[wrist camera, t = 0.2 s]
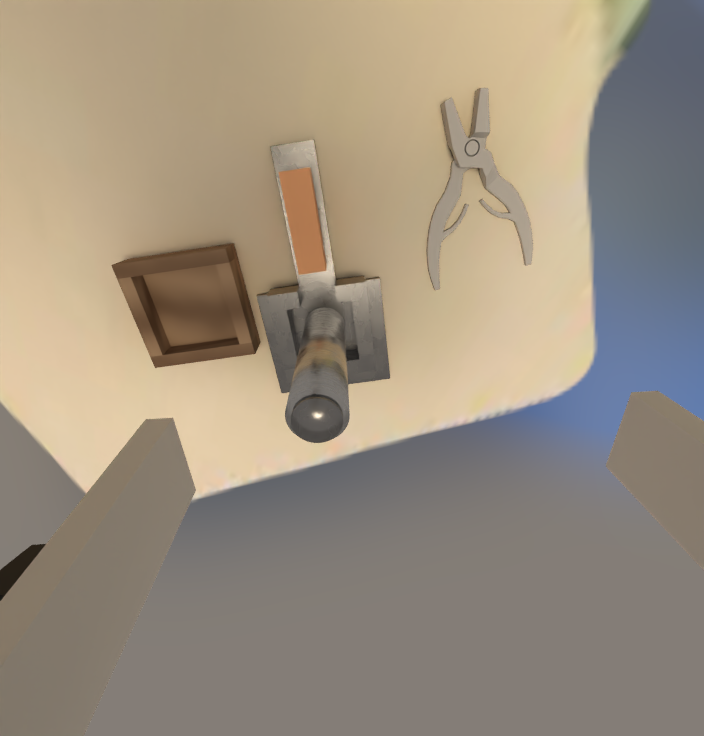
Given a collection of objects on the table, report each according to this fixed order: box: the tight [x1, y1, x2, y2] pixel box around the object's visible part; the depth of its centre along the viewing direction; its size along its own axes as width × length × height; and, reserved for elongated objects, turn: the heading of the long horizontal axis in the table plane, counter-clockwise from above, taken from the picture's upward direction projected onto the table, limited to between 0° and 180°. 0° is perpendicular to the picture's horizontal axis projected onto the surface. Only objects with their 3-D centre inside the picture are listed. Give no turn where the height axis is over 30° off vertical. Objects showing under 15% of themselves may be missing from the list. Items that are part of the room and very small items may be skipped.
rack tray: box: [112, 243, 260, 368], centre depth 35 cm, size 10×10×3 cm
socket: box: [257, 140, 390, 393], centre depth 34 cm, size 23×12×3 cm, turn 8°
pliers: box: [427, 88, 533, 290], centre depth 33 cm, size 10×2×15 cm
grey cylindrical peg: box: [285, 307, 349, 443], centre depth 30 cm, size 4×4×17 cm
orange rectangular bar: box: [278, 167, 327, 275], centre depth 31 cm, size 8×2×2 cm, turn 8°
